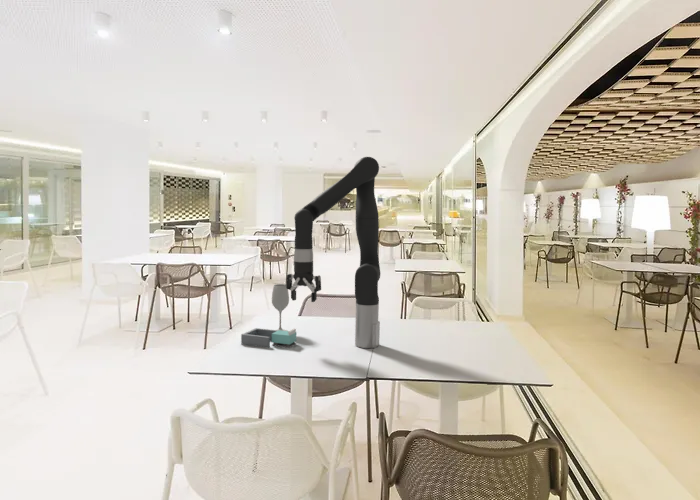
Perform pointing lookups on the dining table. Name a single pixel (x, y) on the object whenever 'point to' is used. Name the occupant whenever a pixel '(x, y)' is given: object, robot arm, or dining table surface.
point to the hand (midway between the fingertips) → (303, 300)
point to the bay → (257, 337)
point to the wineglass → (280, 299)
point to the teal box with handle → (284, 338)
